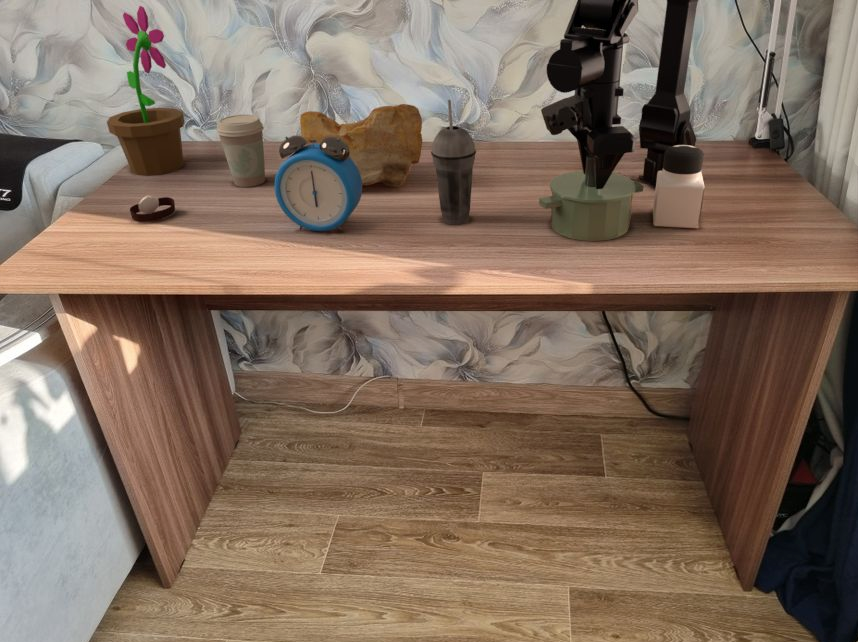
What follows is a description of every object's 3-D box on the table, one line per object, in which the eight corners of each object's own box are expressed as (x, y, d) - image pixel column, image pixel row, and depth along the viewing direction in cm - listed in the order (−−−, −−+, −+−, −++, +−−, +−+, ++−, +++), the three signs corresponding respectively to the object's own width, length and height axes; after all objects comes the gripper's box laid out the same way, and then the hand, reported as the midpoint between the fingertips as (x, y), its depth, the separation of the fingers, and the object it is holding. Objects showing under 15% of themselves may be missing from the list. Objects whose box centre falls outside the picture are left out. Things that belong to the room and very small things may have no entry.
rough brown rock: (440, 171, 147) (435, 93, 140) (421, 194, 132) (415, 108, 126) (330, 171, 151) (320, 95, 144) (300, 193, 136) (288, 110, 129)
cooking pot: (523, 221, 122) (524, 183, 119) (615, 204, 128) (618, 167, 125) (560, 249, 112) (562, 209, 109) (658, 229, 118) (662, 191, 115)
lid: (534, 184, 120) (536, 150, 117) (605, 172, 125) (608, 139, 122) (576, 212, 110) (579, 176, 107) (652, 198, 114) (656, 163, 111)
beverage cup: (482, 213, 125) (481, 94, 115) (469, 230, 120) (466, 105, 109) (443, 209, 128) (438, 91, 117) (427, 225, 122) (421, 102, 111)
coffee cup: (218, 186, 140) (204, 123, 133) (245, 172, 146) (233, 112, 140) (255, 191, 137) (243, 127, 131) (281, 177, 144) (271, 115, 137)
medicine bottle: (698, 229, 118) (710, 156, 112) (653, 226, 119) (662, 154, 113) (695, 212, 124) (706, 142, 117) (652, 210, 125) (661, 140, 119)
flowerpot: (208, 162, 152) (175, 5, 136) (151, 183, 142) (107, 15, 126) (164, 152, 159) (127, 1, 143) (106, 171, 149) (59, 11, 133)
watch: (170, 207, 131) (165, 188, 129) (182, 214, 128) (177, 194, 126) (128, 219, 127) (122, 199, 125) (139, 226, 124) (133, 206, 122)
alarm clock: (280, 231, 121) (265, 141, 113) (293, 217, 126) (279, 130, 118) (356, 234, 119) (346, 143, 111) (367, 220, 124) (358, 132, 116)
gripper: (533, 69, 115) (531, 166, 123) (563, 97, 99) (557, 206, 108) (602, 65, 116) (595, 161, 124) (642, 92, 100) (630, 200, 109)
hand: (592, 181), depth 116 cm, fingers open, 7 cm apart
